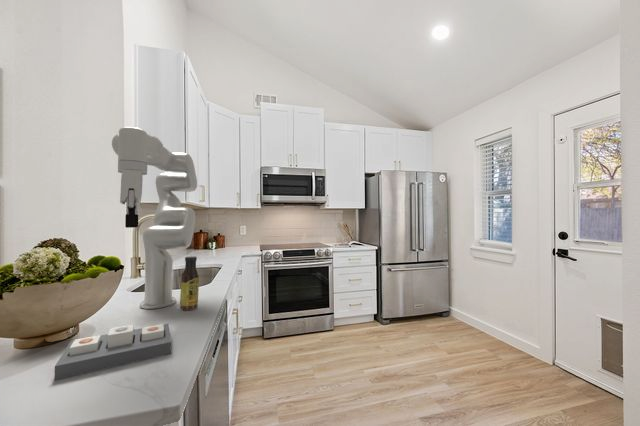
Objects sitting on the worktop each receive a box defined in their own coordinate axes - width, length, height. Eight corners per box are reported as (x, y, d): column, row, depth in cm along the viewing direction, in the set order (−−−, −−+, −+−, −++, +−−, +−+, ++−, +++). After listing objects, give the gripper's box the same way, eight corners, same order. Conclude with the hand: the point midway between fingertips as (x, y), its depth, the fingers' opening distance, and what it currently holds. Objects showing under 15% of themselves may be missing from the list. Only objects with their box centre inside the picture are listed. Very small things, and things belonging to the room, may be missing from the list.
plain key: (110, 343, 70) (110, 327, 70) (133, 339, 73) (133, 324, 73) (107, 351, 66) (107, 335, 66) (132, 346, 69) (132, 330, 69)
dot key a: (142, 342, 74) (142, 327, 74) (163, 338, 77) (163, 323, 77) (141, 349, 70) (141, 334, 70) (163, 345, 73) (163, 330, 73)
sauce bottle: (190, 312, 100) (191, 258, 100) (176, 310, 101) (177, 257, 101) (201, 306, 106) (202, 256, 106) (187, 305, 107) (188, 255, 108)
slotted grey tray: (71, 352, 70) (71, 340, 70) (168, 333, 81) (168, 323, 81) (54, 380, 58) (54, 366, 58) (170, 353, 69) (171, 341, 70)
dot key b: (74, 355, 67) (74, 339, 67) (100, 350, 69) (100, 334, 69) (69, 365, 62) (69, 347, 62) (96, 359, 65) (97, 342, 65)
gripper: (120, 170, 88) (119, 226, 88) (115, 163, 75) (113, 228, 75) (147, 172, 92) (146, 226, 92) (146, 166, 79) (145, 228, 79)
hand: (131, 227), depth 83 cm, fingers closed
